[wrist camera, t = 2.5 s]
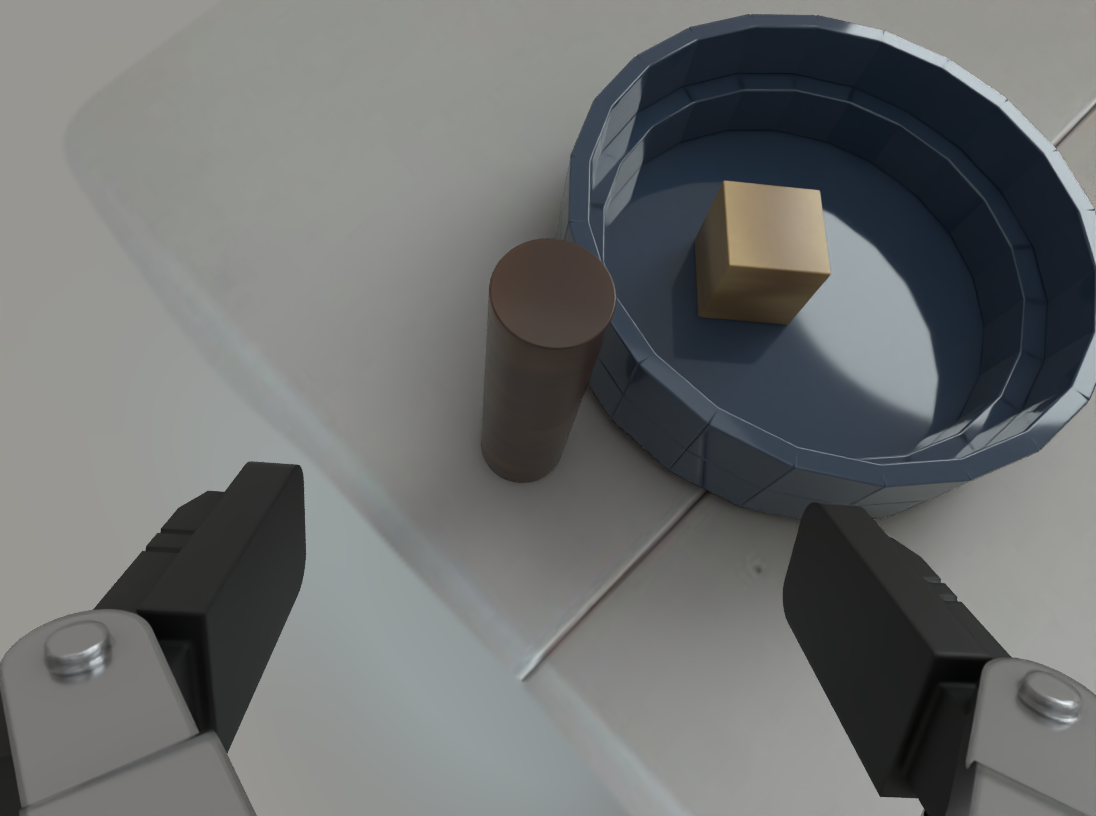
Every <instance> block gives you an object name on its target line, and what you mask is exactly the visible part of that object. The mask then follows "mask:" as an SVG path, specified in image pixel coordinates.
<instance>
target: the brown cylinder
mask: <svg viewBox="0 0 1096 816" xmlns="http://www.w3.org/2000/svg"><path fill="white" fill-rule="evenodd" d="M616 299H617V297H616V289H615V284H614V281H613V279H612V276H611V274H610V272H609V271H608V269H607V268H606V266H605V265H604V264H603V262H602V261H601V260H600V259H599V258H598V257H597V256H595V255H594V254H593V253H592V252H590V251H589V250H587V249H586V248H584V247H582V246H580V245H578V244H575V243H572V242H569V241H565V240H560V239H538V240H533V241H529V242H526V243H523V244H521V245H519V246H517V247H515V248H514V249H512V250H511V251H509V252H508V253H507V254H506V255H505V256H504V257H503V258H502V259H501V260H500V261H499V263H498V264H497V265H496V267H495V269H494V271H493V273H492V276H491V279H490V285H489V300H488V320H487V339H486V359H485V378H484V398H483V417H482V437H481V447H482V453H483V456H484V458H485V461H486V462H487V464H488V465H489V467H490V468H491V469H492V470H493V471H494V472H495V473H496V474H498V475H499V476H501V477H503V478H505V479H507V480H510V481H514V482H532V481H536V480H538V479H541V478H542V477H544V476H546V475H547V474H548V473H550V472H551V471H552V470H553V469H554V467H555V466H556V465H557V463H558V461H559V459H560V456H561V454H562V451H563V448H564V446H565V443H566V440H567V438H568V435H569V432H570V430H571V427H572V424H573V422H574V419H575V416H576V414H577V411H578V408H579V406H580V403H581V400H582V398H583V395H584V392H585V390H586V387H587V384H588V382H589V379H590V376H591V374H592V371H593V368H594V366H595V363H596V360H597V358H598V355H599V352H600V350H601V347H602V344H603V342H604V339H605V336H606V334H607V331H608V328H609V326H610V323H611V320H612V318H613V315H614V312H615V308H616Z"/></svg>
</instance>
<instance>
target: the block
mask: <svg viewBox="0 0 1096 816" xmlns="http://www.w3.org/2000/svg"><path fill="white" fill-rule="evenodd" d="M695 258H696V280H697V301H698V316H699V317H704V318H715V319H727V320H738V321H750V322H761V323H772V324H784V325H788V324H789V323H790V322H791V321H792V320H793V319H794V317H795V316H796V315H797V314H798V313H799V312H800V310H801V309H802V308H803V307H804V306H805V304H806V303H807V302H808V301H809V300H810V299H811V297H812V296H813V295H814V294H815V293H816V291H817V290H818V289H819V288H820V287H821V286H822V284H823V283H824V282H825V281H826V280H827V278H828V277H829V276H830V275H831V271H830V264H829V256H828V248H827V241H826V233H825V225H824V218H823V210H822V202H821V195H820V191H819V190H812V189H802V188H793V187H783V186H773V185H763V184H754V183H744V182H734V181H723V183H722V185H721V187H720V189H719V191H718V193H717V195H716V197H715V199H714V201H713V203H712V205H711V207H710V209H709V211H708V214H707V216H706V218H705V220H704V222H703V224H702V226H701V228H700V230H699V232H698V234H697V236H696V238H695Z"/></svg>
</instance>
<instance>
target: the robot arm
mask: <svg viewBox="0 0 1096 816" xmlns="http://www.w3.org/2000/svg"><path fill="white" fill-rule="evenodd" d="M305 541H306V539H305V509H304V480H303V472H302V469H301V467H300V465H294V464H280V463H265V462H248V463H246V464H245V466H244V467H243V468H242V470H241V471H240V472H239V474H238V475H237V476H236V478H235V479H234V480H233V482H232V483H231V484H230V486H229V487H228V488H227V489H226V491H225V492H218V491H207V492H205V493H204V494H202V495H200V496H198V497H197V498H195V499H193V500H191V501H190V502H188V503H186V504H184V505H183V506H181V507H179V508H178V509H177V510H176V512H175V513H174V514H173V515H172V516H171V518H170V519H169V520H168V521H167V522H166V523H165V525H164V526H163V527H162V528H161V532H160V533H157V534H156V536H155V537H154V538H153V539H152V540H151V541H150V543H149V544H148V545H147V546H146V551H142V552H141V553H140V555H139V556H138V557H137V558H136V559H135V560H134V562H133V563H132V564H131V565H130V566H129V568H128V569H127V570H126V571H125V572H124V574H123V575H122V576H121V577H120V578H119V579H118V581H117V582H116V583H115V584H114V586H113V587H112V588H111V589H110V590H109V591H108V593H107V594H106V595H105V596H104V597H103V598H102V600H101V601H100V602H99V603H98V604H97V606H96V607H95V608H94V609H93V610H89V611H84V612H79V613H74V614H70V615H67V616H64V617H61V618H58V619H55V620H53V621H50V622H48V623H46V624H44V625H42V626H40V627H38V628H36V629H34V630H32V631H31V632H29V633H28V634H27V635H25V636H24V637H22V638H21V639H20V640H19V641H17V642H16V643H15V644H14V645H13V646H12V647H11V648H10V649H9V650H8V651H7V652H6V654H5V655H4V657H3V659H2V660H1V662H0V816H257V815H256V813H255V811H254V809H253V807H252V805H251V803H250V801H249V799H248V797H247V795H246V792H245V790H244V788H243V786H242V784H241V782H240V780H239V778H238V776H237V774H236V772H235V770H234V767H233V766H232V763H231V762H230V759H229V757H228V755H227V753H228V751H229V748H230V746H231V744H232V741H233V739H234V737H235V735H236V733H237V730H238V728H239V726H240V723H241V721H242V719H243V717H244V714H245V712H246V710H247V708H248V706H249V703H250V701H251V699H252V697H253V694H254V692H255V690H256V687H257V685H258V683H259V681H260V679H261V677H262V674H263V672H264V670H265V668H266V665H267V663H268V661H269V659H270V656H271V654H272V652H273V650H274V647H275V645H276V643H277V641H278V638H279V636H280V634H281V632H282V629H283V627H284V625H285V623H286V620H287V618H288V616H289V614H290V611H291V609H292V607H293V604H294V602H295V600H296V598H297V596H298V593H299V591H300V588H301V584H302V580H303V575H304V569H305V560H306V542H305ZM783 606H784V612H785V616H786V619H787V621H788V624H789V625H790V627H791V629H792V631H793V633H794V635H795V637H796V639H797V641H798V643H799V644H800V646H801V648H802V650H803V652H804V654H805V656H806V658H807V660H808V661H809V663H810V665H811V667H812V669H813V671H814V673H815V675H816V677H817V678H818V680H819V682H820V684H821V686H822V688H823V690H824V692H825V694H826V695H827V697H828V699H829V701H830V703H831V705H832V707H833V709H834V711H835V712H836V714H837V716H838V718H839V720H840V722H841V724H842V726H843V728H844V729H845V731H846V733H847V735H848V737H849V739H850V741H851V743H852V745H853V746H854V748H855V750H856V752H857V754H858V756H859V758H860V760H861V762H862V764H863V765H864V767H865V769H866V771H867V773H868V775H869V777H870V779H871V781H872V782H873V784H874V786H875V788H876V790H877V792H878V794H879V796H880V797H901V798H918V799H919V801H920V803H921V804H922V806H923V808H924V809H923V811H922V814H921V816H1096V695H1095V694H1094V693H1093V692H1091V691H1090V690H1089V689H1087V688H1086V687H1085V686H1083V685H1082V684H1080V683H1079V682H1077V681H1075V680H1074V679H1072V678H1070V677H1069V676H1067V675H1065V674H1063V673H1061V672H1059V671H1057V670H1055V669H1052V668H1050V667H1048V666H1045V665H1042V664H1039V663H1036V662H1033V661H1029V660H1025V659H1019V658H1012V657H1011V656H1010V655H1009V654H1008V653H1007V652H1006V651H1005V650H1004V649H1003V647H1002V646H1001V645H1000V644H999V643H998V642H997V641H996V640H995V639H994V637H993V636H992V635H991V634H990V633H989V632H988V631H987V630H986V629H985V628H984V626H983V625H982V624H981V623H980V622H979V621H978V620H977V619H976V618H975V616H974V615H973V614H972V613H971V612H970V611H969V610H968V609H967V608H966V606H965V605H964V604H963V603H962V602H957V596H956V595H955V594H954V593H953V592H952V591H951V590H950V589H949V588H948V586H947V585H946V584H945V583H941V579H940V578H939V576H938V575H937V574H936V573H935V572H934V571H933V570H932V569H931V568H930V566H929V565H928V564H927V563H926V562H925V561H924V560H923V559H922V558H921V557H920V556H919V555H917V554H916V553H914V552H913V551H911V550H910V549H908V548H907V547H905V546H904V545H902V544H901V543H899V542H898V541H896V540H895V539H893V538H889V537H888V536H887V535H886V534H885V532H884V531H883V530H882V529H881V528H880V527H879V526H878V524H877V523H876V522H875V521H874V520H873V519H872V517H871V516H870V515H869V514H868V513H867V512H866V511H865V509H864V508H862V507H861V506H859V505H848V504H834V503H820V502H812V503H810V504H809V505H808V506H807V507H806V509H805V510H804V513H803V515H802V519H801V522H800V526H799V530H798V533H797V537H796V541H795V544H794V548H793V552H792V555H791V559H790V563H789V566H788V570H787V574H786V577H785V581H784V587H783Z"/></svg>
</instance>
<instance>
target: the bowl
mask: <svg viewBox="0 0 1096 816" xmlns="http://www.w3.org/2000/svg"><path fill="white" fill-rule="evenodd" d="M723 181H734V182H744V183H754V184H763V185H773V186H783V187H793V188H802V189H812V190H819V191H820V195H821V202H822V210H823V218H824V225H825V233H826V241H827V248H828V256H829V264H830V271H831V275H830V276H829V277H828V278H827V280H826V281H825V282H824V283H823V284H822V286H821V287H820V288H819V289H818V290H817V291H816V293H815V294H814V295H813V296H812V297H811V299H810V300H809V301H808V302H807V303H806V304H805V306H804V307H803V308H802V309H801V310H800V312H799V313H798V314H797V315H796V316H795V317H794V319H793V320H792V321H791V322H790V323H789V324H788V325H784V324H772V323H761V322H750V321H738V320H727V319H715V318H704V317H699V316H698V301H697V280H696V258H695V238H696V236H697V234H698V232H699V230H700V228H701V226H702V224H703V222H704V220H705V218H706V216H707V214H708V211H709V209H710V207H711V205H712V203H713V201H714V199H715V197H716V195H717V193H718V191H719V189H720V187H721V185H722V183H723ZM1094 210H1095V208H1094V207H1093V205H1092V204H1091V202H1090V200H1089V199H1088V197H1087V196H1086V194H1085V192H1084V191H1083V189H1082V187H1081V186H1080V184H1079V183H1078V181H1077V179H1076V178H1075V176H1074V175H1073V173H1072V171H1071V170H1070V168H1069V167H1068V165H1067V163H1066V162H1065V160H1064V159H1063V157H1062V155H1061V154H1060V152H1059V151H1057V149H1056V148H1055V147H1054V146H1053V145H1052V144H1051V143H1050V142H1049V141H1048V140H1047V139H1046V138H1045V137H1044V136H1043V135H1042V133H1041V132H1040V131H1039V130H1038V129H1037V128H1036V127H1035V126H1034V125H1033V124H1032V123H1031V122H1030V121H1029V120H1028V119H1027V118H1026V117H1025V116H1024V115H1023V114H1022V113H1021V112H1020V111H1019V110H1018V109H1017V108H1016V107H1015V106H1014V105H1013V104H1012V103H1011V102H1010V101H1009V100H1007V98H1006V97H1004V96H1003V95H1001V94H1000V93H999V92H997V91H996V90H994V89H993V88H991V87H990V86H988V85H987V84H985V83H984V82H982V81H981V80H980V79H978V78H977V77H975V76H974V75H972V74H971V73H969V72H968V71H966V70H965V69H963V68H962V67H961V66H959V65H958V64H956V63H955V62H953V61H952V60H950V59H948V58H947V57H944V56H942V55H940V54H938V53H935V52H933V51H931V50H928V49H926V48H924V47H922V46H919V45H917V44H915V43H912V42H910V41H908V40H906V39H903V38H901V37H899V36H896V35H894V34H892V33H890V32H887V31H885V30H884V31H883V30H881V29H877V28H872V27H868V26H863V25H859V24H855V23H850V22H846V21H841V20H837V19H832V18H828V17H824V16H819V15H817V16H815V15H775V14H751V15H750V14H747V15H743V16H738V17H734V18H729V19H724V20H720V21H715V22H711V23H706V24H702V25H697V26H693V27H689V29H688V28H687V29H685V30H683V31H681V32H680V33H678V34H676V35H674V36H672V37H670V38H668V39H666V40H665V41H663V42H661V43H659V44H657V45H655V46H653V47H651V48H650V49H648V50H646V51H644V52H642V53H640V54H638V55H637V56H636V57H634V58H633V59H632V60H631V61H630V62H629V63H628V64H627V65H626V66H625V67H624V68H623V69H622V70H621V72H620V73H619V74H618V75H617V76H616V77H615V78H614V79H613V80H612V81H611V82H610V83H609V84H608V85H607V86H606V87H605V88H604V90H603V91H602V92H601V93H600V94H599V95H598V96H597V97H596V98H595V100H594V101H593V103H592V105H591V108H590V110H589V112H588V115H587V117H586V119H585V122H584V124H583V127H582V129H581V131H580V134H579V136H578V138H577V141H576V143H575V146H574V148H573V150H572V153H571V156H570V161H569V166H568V172H567V177H566V182H565V188H564V193H563V198H562V204H561V209H560V214H559V220H558V225H557V230H556V236H555V239H560V240H565V241H569V242H572V243H575V244H578V245H580V246H582V247H584V248H586V249H587V250H589V251H590V252H592V253H593V254H594V255H595V256H597V257H598V258H599V259H600V260H601V261H602V262H603V264H604V265H605V266H606V268H607V269H608V271H609V272H610V274H611V276H612V279H613V281H614V284H615V289H616V297H617V299H616V308H615V312H614V315H613V318H612V320H611V323H610V326H609V328H608V331H607V334H606V336H605V339H604V342H603V344H602V347H601V350H600V352H599V355H598V358H597V360H596V363H595V366H594V368H593V371H592V374H591V376H590V379H589V382H588V384H589V386H590V387H591V389H592V390H593V392H594V394H595V395H596V397H597V398H598V400H599V401H600V403H601V404H602V406H603V407H604V409H605V411H606V412H607V414H608V415H609V417H610V418H612V420H613V421H614V422H615V423H617V424H618V425H619V426H620V427H621V428H622V429H623V430H624V431H625V432H627V433H628V434H629V435H630V436H631V437H632V438H633V439H634V440H636V441H637V442H638V443H639V444H640V445H641V446H642V447H643V448H644V449H646V450H647V451H648V452H649V453H650V454H651V455H652V456H653V457H655V458H656V459H657V460H658V461H659V462H660V463H661V464H662V465H663V466H665V467H666V468H667V469H670V471H671V472H673V473H675V474H677V475H679V476H681V477H683V478H685V479H687V480H689V481H690V482H692V483H694V484H696V485H698V486H700V487H702V488H704V489H706V490H708V491H710V492H712V493H714V494H716V495H718V496H720V497H722V498H724V499H726V500H728V501H730V502H732V503H734V504H736V505H738V506H740V507H743V508H748V509H753V510H757V511H762V512H767V513H772V514H777V515H781V516H786V517H791V518H796V519H802V515H803V513H804V510H805V509H806V507H807V506H808V505H809V504H810V503H812V502H820V503H834V504H848V505H859V506H861V507H862V508H864V509H865V511H866V512H867V513H868V514H869V515H870V516H871V517H872V518H879V517H888V516H893V515H895V514H897V513H899V512H902V511H904V510H906V509H909V508H911V507H913V506H916V505H918V504H920V503H923V502H925V501H927V500H930V499H932V498H934V497H937V496H939V495H941V494H944V493H946V492H948V491H950V490H953V489H955V488H957V487H959V486H962V485H964V484H966V483H969V482H971V481H973V480H975V479H978V478H980V477H982V476H984V475H987V474H989V473H991V472H993V471H996V470H998V469H1000V468H1003V467H1005V466H1007V465H1009V464H1012V463H1014V462H1016V461H1018V460H1021V459H1023V458H1025V457H1027V456H1030V455H1032V454H1034V453H1036V452H1039V450H1041V449H1042V448H1043V447H1044V446H1045V445H1046V444H1047V443H1048V442H1049V441H1050V440H1051V439H1052V438H1053V437H1054V436H1055V435H1056V434H1057V433H1058V432H1059V431H1060V430H1061V429H1062V428H1063V427H1064V426H1065V425H1066V424H1067V423H1068V422H1069V421H1070V420H1071V419H1072V418H1073V417H1074V416H1075V415H1076V414H1077V413H1078V412H1079V411H1080V410H1081V409H1082V408H1083V407H1084V406H1085V405H1086V404H1087V403H1088V401H1089V400H1090V399H1091V396H1092V394H1093V391H1094V389H1095V386H1096V212H1095V211H1094Z"/></svg>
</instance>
